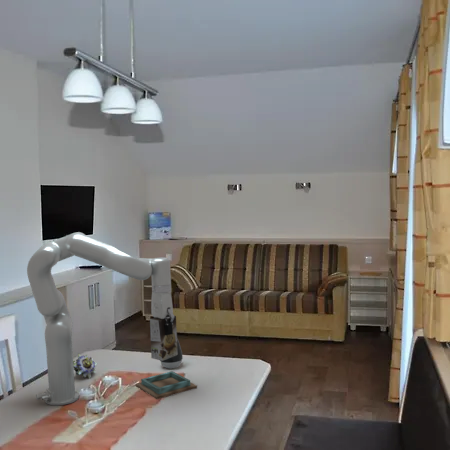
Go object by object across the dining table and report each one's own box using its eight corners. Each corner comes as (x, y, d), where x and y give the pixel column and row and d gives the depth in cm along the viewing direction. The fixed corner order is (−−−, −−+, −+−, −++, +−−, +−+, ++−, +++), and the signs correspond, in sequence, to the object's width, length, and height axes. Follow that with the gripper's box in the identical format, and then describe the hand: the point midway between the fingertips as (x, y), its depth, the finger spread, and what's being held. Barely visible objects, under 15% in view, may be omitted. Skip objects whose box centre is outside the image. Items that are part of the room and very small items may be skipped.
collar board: (156, 399, 206) (156, 391, 206) (135, 386, 221) (135, 379, 220) (196, 387, 216) (196, 380, 216) (174, 375, 231) (173, 369, 231)
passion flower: (89, 390, 233) (81, 373, 225) (69, 382, 237) (60, 366, 229) (104, 369, 240) (97, 352, 233) (84, 362, 245) (76, 345, 237)
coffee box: (162, 361, 212) (160, 320, 211) (150, 358, 216) (148, 318, 215) (178, 354, 219) (176, 315, 218) (166, 352, 223) (164, 313, 222)
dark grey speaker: (156, 370, 239) (154, 336, 238) (165, 362, 249) (164, 329, 248) (177, 371, 236) (176, 337, 235) (186, 363, 246) (184, 330, 245)
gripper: (143, 287, 221) (145, 330, 222) (164, 293, 206) (166, 339, 208) (159, 284, 225) (161, 326, 226) (181, 290, 211) (183, 335, 212)
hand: (163, 332), depth 217 cm, fingers closed on coffee box, 7 cm apart
